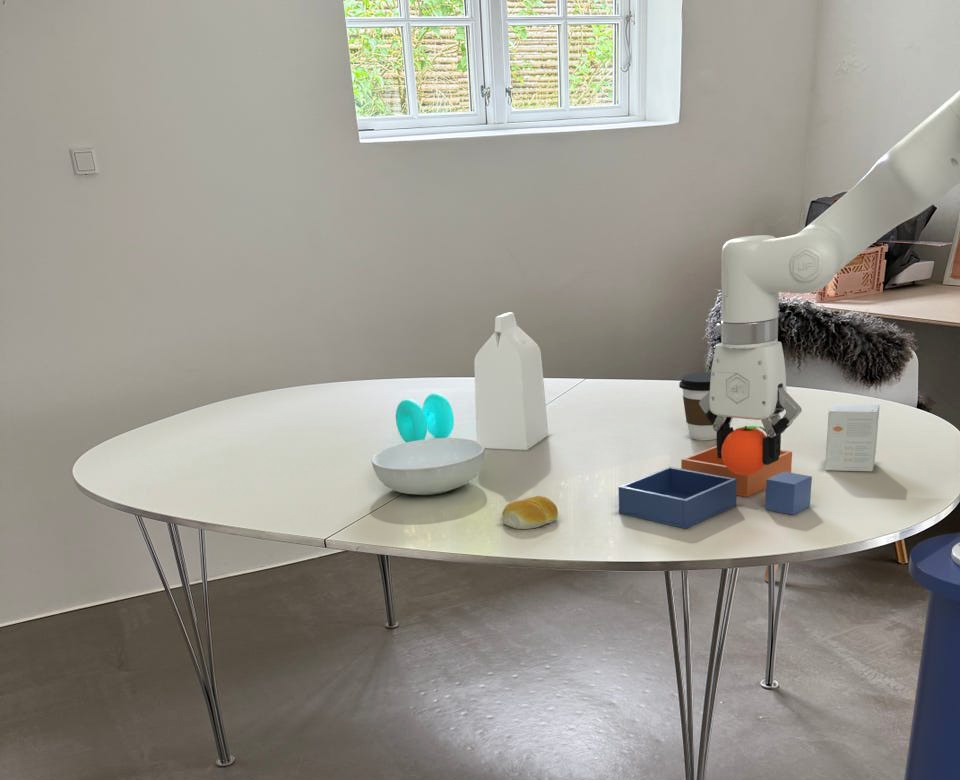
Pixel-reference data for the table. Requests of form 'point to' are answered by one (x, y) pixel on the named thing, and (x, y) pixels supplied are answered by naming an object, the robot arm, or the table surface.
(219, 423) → the table surface
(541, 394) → the milk
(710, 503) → the blue bin
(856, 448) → the small box
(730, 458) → the clementine
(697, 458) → the terracotta bin
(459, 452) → the serving bowl
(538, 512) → the bread roll
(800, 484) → the blue block
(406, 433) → the cyan plastic rounded piece
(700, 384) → the coffee cup
